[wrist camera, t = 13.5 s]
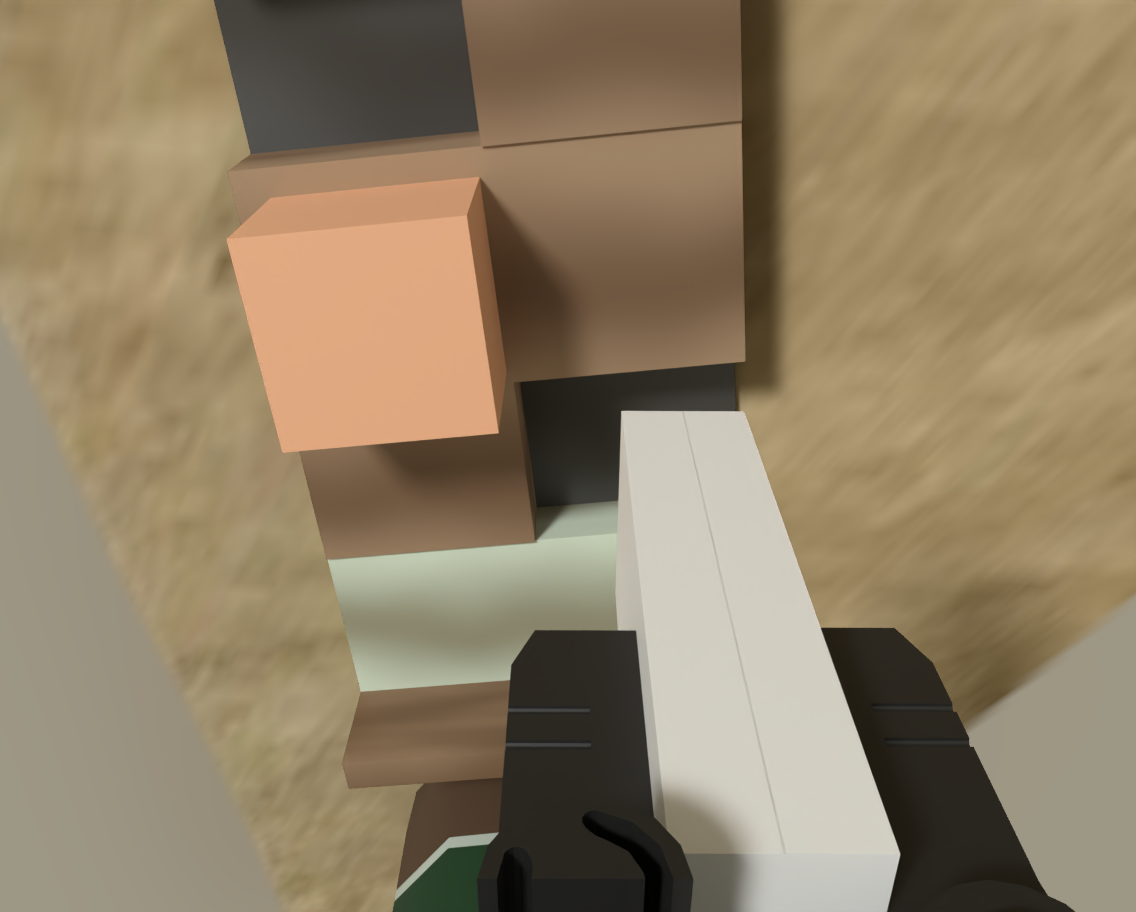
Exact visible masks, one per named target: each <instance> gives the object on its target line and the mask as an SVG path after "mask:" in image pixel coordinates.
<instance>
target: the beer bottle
mask: <svg viewBox="0 0 1136 912" xmlns="http://www.w3.org/2000/svg"><path fill="white" fill-rule="evenodd" d="M502 781H503V777H502V778H489V779H475V780H461V781H448V782H434V783H424V784H423V786H422V787H421V788H420V789H419V790H418V791H417V792H416V796H415V800H414V804H413V808H412V812H411V816H410V820H409V824H408V828H407V833H406V839H405V844H404V850H403V856H402V861H401V867H400V873H399V879H398V884H397V890H396V896H395V902H394V907H393V912H479V907H478V889H477V877H478V874H479V871H480V868H481V865H482V862H483V859H484V856H485V853H486V850H487V846H488V844H489V843H490V842H491V841H492V840H493V839H494V838H495V837H496V836H497V835H498V833H499V822H500V808H501V795H502Z"/></svg>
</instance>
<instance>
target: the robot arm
mask: <svg viewBox="0 0 1136 912" xmlns="http://www.w3.org/2000/svg"><path fill="white" fill-rule="evenodd" d="M615 595H616V610H617V624H618V630H535V631H534V632H533V634H532V635H531V637H530V638H529V639H528V641H527V642H526V644H525V645H524V647H523V648H522V650H521V651H520V653H519V654H518V656H517V657H516V659H515V660H514V661H513V663H512V664H511V674H510V687H509V701H508V714H507V728H506V747H505V755H504V768H503V781H502V795H501V808H500V822H499V833H498V835H497V836H496V837H495V838H494V839H493V840H492V841H491V842H490V843H489V844H488V846H487V850H486V853H485V856H484V859H483V862H482V865H481V868H480V871H479V874H478V877H477V889H478V907H479V912H1075V911H1074V910H1072V909H1071V908H1070V907H1068V906H1067V905H1066V904H1064V903H1062V902H1060V901H1058V900H1056V899H1053V898H1051V897H1049V896H1048V895H1047V894H1046V892H1045V890H1044V889H1043V887H1042V886H1041V884H1040V883H1039V881H1038V879H1037V877H1036V875H1035V873H1034V871H1033V869H1032V867H1031V864H1030V862H1029V860H1028V858H1027V856H1026V854H1025V852H1024V850H1023V848H1022V846H1021V844H1020V842H1019V840H1018V838H1017V836H1016V834H1015V831H1014V829H1013V828H1012V825H1011V823H1010V821H1009V819H1008V817H1007V815H1006V813H1005V811H1004V809H1003V807H1002V805H1001V803H1000V801H999V799H998V797H997V794H996V792H995V790H994V788H993V786H992V784H991V782H990V780H989V778H988V776H987V774H986V772H985V770H984V768H983V766H982V764H981V762H980V759H979V757H978V755H977V753H976V751H975V749H974V747H970V745H969V737H968V735H967V733H966V731H965V729H964V726H963V724H962V722H961V720H960V718H959V716H958V714H957V712H953V710H952V702H951V700H950V698H949V696H948V694H947V691H946V689H945V687H944V685H943V683H942V681H941V679H940V677H939V675H938V673H937V671H936V669H935V667H934V665H933V663H932V662H931V661H930V660H929V659H928V658H927V657H926V656H925V655H923V654H922V653H921V652H920V651H919V650H918V649H917V648H916V647H915V646H914V645H913V644H911V643H910V642H909V641H908V640H907V639H906V638H905V637H904V636H903V635H902V634H901V633H899V632H898V631H897V630H896V629H895V628H820V625H819V622H818V619H817V617H816V614H815V611H814V608H813V605H812V602H811V600H810V597H809V594H808V591H807V588H806V585H805V583H804V580H803V577H802V574H801V571H800V568H799V566H798V563H797V560H796V557H795V554H794V551H793V549H792V546H791V543H790V540H789V537H788V534H787V532H786V529H785V526H784V523H783V520H782V517H781V515H780V512H779V509H778V506H777V503H776V500H775V498H774V495H773V492H772V489H771V486H770V483H769V481H768V478H767V475H766V472H765V469H764V466H763V464H762V461H761V458H760V455H759V452H758V449H757V447H756V444H755V441H754V438H753V435H752V432H751V430H750V427H749V424H748V421H747V418H746V415H745V413H744V411H621V439H620V469H619V499H618V528H617V558H616V588H615Z"/></svg>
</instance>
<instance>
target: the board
mask: <svg viewBox="0 0 1136 912" xmlns="http://www.w3.org/2000/svg"><path fill="white" fill-rule="evenodd" d="M214 2H215V6H216V11H217V15H218V19H219V23H220V27H221V31H222V36H223V40H224V44H225V48H226V52H227V56H228V61H229V65H230V69H231V73H232V77H233V81H234V86H235V90H236V94H237V98H238V102H239V107H240V111H241V115H242V119H243V123H244V127H245V132H246V136H247V140H248V144H249V148H250V152H251V154H250V155H249V156H248V157H246V158H245V159H244V160H242V161H241V162H240V163H238V164H237V165H236V166H234V167H233V168H231V169H230V170H229V171H227V172H228V176H229V180H230V184H231V188H232V192H233V196H234V200H235V204H236V208H237V212H238V216H239V220H240V224H241V225H242V224H243V223H244V222H245V221H246V220H248V219H249V218H250V217H251V216H252V215H253V214H254V213H255V212H256V211H257V210H258V209H259V208H260V207H261V206H262V205H263V204H265V203H266V202H267V201H268V200H269V199H270V198H275V197H285V196H295V195H305V194H315V193H325V192H335V191H344V190H354V189H364V188H374V187H384V186H394V185H404V184H414V183H424V182H434V181H443V180H453V179H463V178H473V177H480V183H481V190H482V198H483V205H484V212H485V219H486V226H487V234H488V241H489V248H490V255H491V263H492V270H493V277H494V284H495V292H496V299H497V306H498V313H499V321H500V328H501V335H502V342H503V349H504V357H505V364H506V371H507V373H506V381H505V389H504V396H503V404H502V412H501V420H500V427H499V433H497V434H485V435H474V436H463V437H452V438H441V439H430V440H418V441H407V442H396V443H385V444H374V445H362V446H351V447H340V448H329V449H318V450H307V451H299V452H300V456H301V460H302V464H303V468H304V472H305V476H306V480H307V484H308V488H309V492H310V496H311V500H312V504H313V508H314V512H315V516H316V520H317V524H318V528H319V532H320V536H321V540H322V543H323V547H324V551H325V555H326V559H327V560H328V562H329V566H330V570H331V574H332V578H333V582H334V586H335V590H336V594H337V598H338V602H339V606H340V610H341V614H342V618H343V622H344V626H345V630H346V634H347V638H348V642H349V646H350V650H351V654H352V658H353V662H354V666H355V670H356V674H357V678H358V682H359V686H360V690H361V693H360V697H359V701H358V705H357V709H356V712H355V716H354V720H353V724H352V727H351V731H350V735H349V739H348V742H347V746H346V750H345V754H344V758H343V761H342V765H343V769H344V772H345V776H346V780H347V783H348V787H349V789H352V788H366V787H379V786H393V785H407V784H420V783H434V782H448V781H461V780H475V779H489V778H502V777H503V768H504V755H505V747H506V728H507V714H508V701H509V687H510V674H511V664H512V663H513V661H514V660H515V659H516V657H517V656H518V654H519V653H520V651H521V650H522V648H523V647H524V645H525V644H526V642H527V641H528V639H529V638H530V637H531V635H532V634H533V632H534V631H535V630H618V624H617V610H616V595H615V588H616V558H617V528H618V499H619V469H620V439H621V411H736V407H735V362H745V303H744V241H743V178H742V73H741V9H740V0H214Z"/></svg>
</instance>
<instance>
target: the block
mask: <svg viewBox="0 0 1136 912" xmlns="http://www.w3.org/2000/svg"><path fill="white" fill-rule="evenodd" d="M227 243H228V247H229V251H230V254H231V258H232V262H233V266H234V270H235V274H236V277H237V281H238V285H239V289H240V293H241V296H242V300H243V304H244V308H245V312H246V315H247V319H248V323H249V327H250V331H251V335H252V338H253V342H254V346H255V350H256V354H257V357H258V361H259V365H260V369H261V373H262V376H263V380H264V384H265V388H266V392H267V396H268V399H269V403H270V407H271V411H272V415H273V418H274V422H275V426H276V430H277V434H278V437H279V441H280V445H281V449H282V453H284V452H295V451H307V450H318V449H329V448H340V447H351V446H362V445H374V444H385V443H396V442H407V441H418V440H430V439H441V438H452V437H463V436H474V435H485V434H497V433H499V427H500V420H501V412H502V404H503V396H504V389H505V381H506V373H507V371H506V364H505V357H504V349H503V342H502V335H501V328H500V321H499V313H498V306H497V299H496V292H495V284H494V277H493V270H492V263H491V255H490V248H489V241H488V234H487V226H486V219H485V212H484V205H483V198H482V190H481V183H480V177H473V178H463V179H453V180H443V181H434V182H424V183H414V184H404V185H394V186H384V187H374V188H364V189H354V190H344V191H335V192H325V193H315V194H305V195H295V196H285V197H275V198H270V199H269V200H268V201H267V202H266V203H265V204H263V205H262V206H261V207H260V208H259V209H258V210H257V211H256V212H255V213H254V214H253V215H252V216H251V217H250V218H249V219H248V220H246V221H245V222H244V223H243V224H242V225H241V226H240V227H239V228H238V229H237V230H236V231H235V232H234V233H233V234H232V235H231V236H229V237H228V238H227Z"/></svg>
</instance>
